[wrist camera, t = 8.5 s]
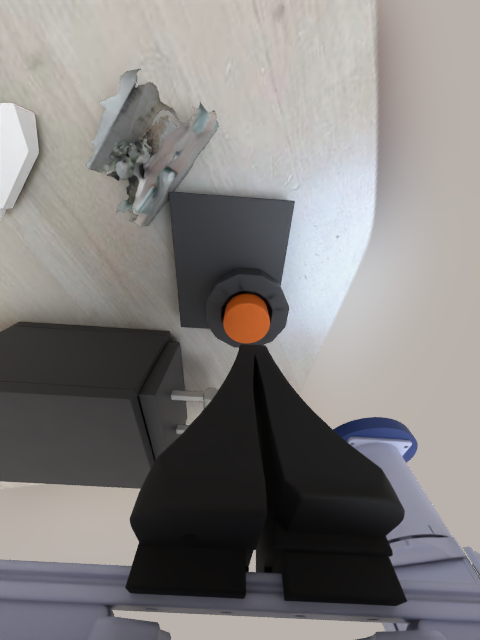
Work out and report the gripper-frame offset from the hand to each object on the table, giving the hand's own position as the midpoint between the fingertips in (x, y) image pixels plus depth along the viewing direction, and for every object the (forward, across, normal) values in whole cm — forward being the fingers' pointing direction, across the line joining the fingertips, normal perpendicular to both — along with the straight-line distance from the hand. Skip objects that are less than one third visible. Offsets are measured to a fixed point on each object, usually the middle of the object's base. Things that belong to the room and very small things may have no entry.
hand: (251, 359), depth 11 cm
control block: (+8, +2, -3) cm, 9 cm away
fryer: (+8, +15, +10) cm, 20 cm away
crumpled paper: (+9, +7, -9) cm, 14 cm away
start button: (+5, 0, 0) cm, 5 cm away
